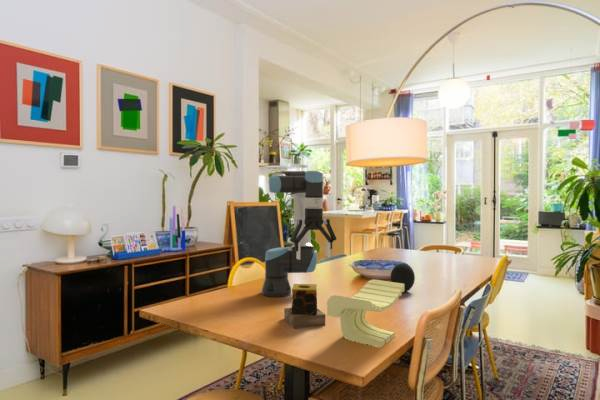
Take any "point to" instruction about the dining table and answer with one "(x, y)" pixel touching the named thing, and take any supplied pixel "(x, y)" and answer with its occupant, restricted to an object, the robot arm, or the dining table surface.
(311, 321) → the walnut block
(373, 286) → the slatted curved stool
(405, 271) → the decorative egg
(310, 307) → the candle
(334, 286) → the dining table surface
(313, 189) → the robot arm
